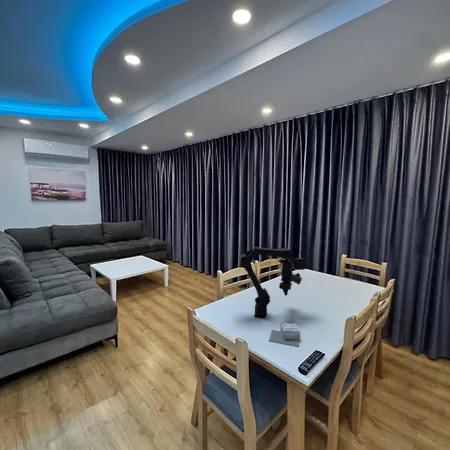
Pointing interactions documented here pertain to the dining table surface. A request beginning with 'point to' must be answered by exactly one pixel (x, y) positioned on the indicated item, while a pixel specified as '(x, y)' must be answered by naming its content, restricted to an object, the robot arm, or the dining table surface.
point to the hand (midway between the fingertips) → (286, 295)
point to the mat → (282, 339)
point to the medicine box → (290, 331)
